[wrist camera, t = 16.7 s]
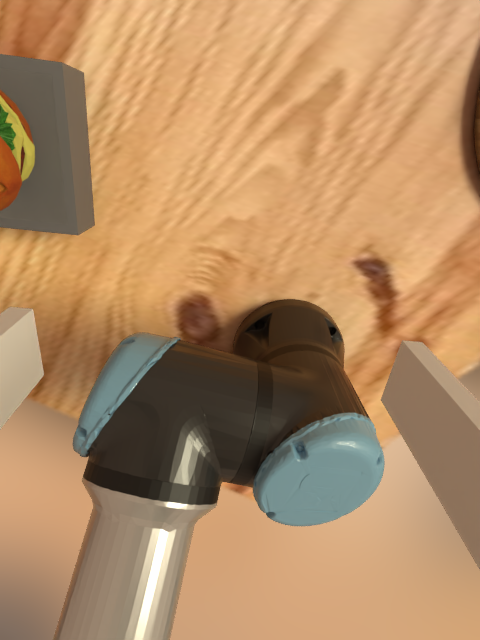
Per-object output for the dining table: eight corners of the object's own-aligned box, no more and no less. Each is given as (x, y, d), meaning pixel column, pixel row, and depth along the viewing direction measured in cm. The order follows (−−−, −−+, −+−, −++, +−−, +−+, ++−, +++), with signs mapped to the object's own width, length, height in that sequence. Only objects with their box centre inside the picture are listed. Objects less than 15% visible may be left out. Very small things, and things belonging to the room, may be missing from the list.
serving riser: (94, 225, 42) (78, 235, 37) (-39, 211, 41) (-72, 219, 36) (83, 72, 35) (62, 62, 31) (-77, 51, 34) (-123, 37, 29)
